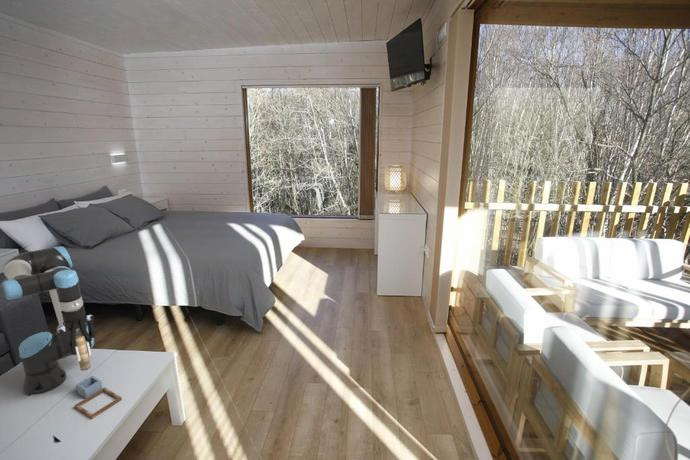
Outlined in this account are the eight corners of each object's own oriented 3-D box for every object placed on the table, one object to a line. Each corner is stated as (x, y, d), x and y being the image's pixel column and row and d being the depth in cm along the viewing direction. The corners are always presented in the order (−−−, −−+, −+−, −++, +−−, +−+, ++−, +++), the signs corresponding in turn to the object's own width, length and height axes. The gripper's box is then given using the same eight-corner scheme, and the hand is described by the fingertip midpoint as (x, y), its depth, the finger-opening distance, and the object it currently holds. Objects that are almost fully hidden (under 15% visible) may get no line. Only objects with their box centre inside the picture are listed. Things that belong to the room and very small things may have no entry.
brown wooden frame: (75, 409, 154) (74, 405, 153) (105, 391, 164) (104, 387, 163) (92, 420, 149) (91, 416, 148) (122, 401, 159) (121, 397, 158)
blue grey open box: (78, 395, 162) (76, 384, 160) (94, 385, 167) (92, 375, 166) (87, 400, 159) (85, 389, 157) (103, 390, 164) (101, 380, 163)
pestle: (78, 368, 159) (71, 338, 154) (87, 364, 162) (81, 334, 157) (83, 371, 157) (76, 340, 153) (92, 366, 160) (86, 336, 156)
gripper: (54, 319, 142) (66, 371, 149) (99, 301, 156) (108, 349, 163) (43, 314, 145) (56, 365, 153) (88, 297, 159) (98, 344, 167)
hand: (83, 357), depth 158 cm, fingers closed on pestle, 3 cm apart
